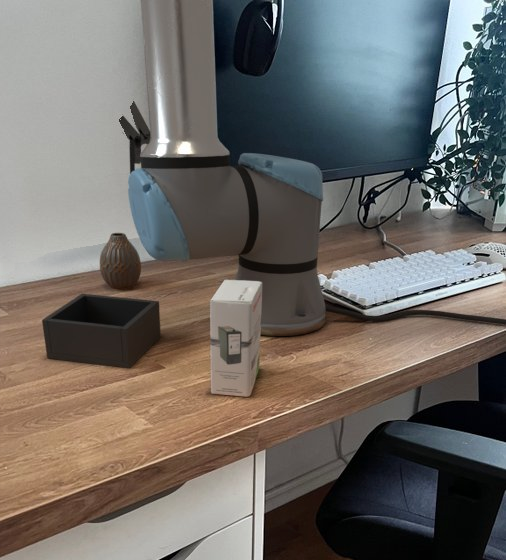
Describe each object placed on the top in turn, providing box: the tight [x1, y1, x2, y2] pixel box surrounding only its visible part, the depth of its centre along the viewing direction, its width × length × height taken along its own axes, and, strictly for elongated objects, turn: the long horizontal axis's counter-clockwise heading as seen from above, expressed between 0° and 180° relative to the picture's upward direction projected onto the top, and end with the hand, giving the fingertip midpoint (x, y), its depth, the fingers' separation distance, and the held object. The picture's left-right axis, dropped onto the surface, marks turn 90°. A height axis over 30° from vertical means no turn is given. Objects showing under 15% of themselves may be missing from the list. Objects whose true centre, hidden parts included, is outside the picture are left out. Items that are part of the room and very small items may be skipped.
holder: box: [41, 293, 162, 369], centre depth 93 cm, size 12×12×5 cm
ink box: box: [209, 279, 262, 398], centre depth 83 cm, size 9×5×12 cm, turn 171°
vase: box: [99, 232, 142, 290], centre depth 117 cm, size 7×7×9 cm
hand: (92, 178), depth 117 cm, fingers open, 13 cm apart
